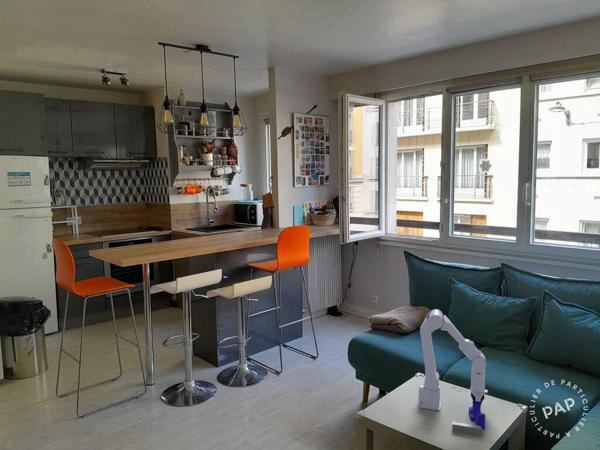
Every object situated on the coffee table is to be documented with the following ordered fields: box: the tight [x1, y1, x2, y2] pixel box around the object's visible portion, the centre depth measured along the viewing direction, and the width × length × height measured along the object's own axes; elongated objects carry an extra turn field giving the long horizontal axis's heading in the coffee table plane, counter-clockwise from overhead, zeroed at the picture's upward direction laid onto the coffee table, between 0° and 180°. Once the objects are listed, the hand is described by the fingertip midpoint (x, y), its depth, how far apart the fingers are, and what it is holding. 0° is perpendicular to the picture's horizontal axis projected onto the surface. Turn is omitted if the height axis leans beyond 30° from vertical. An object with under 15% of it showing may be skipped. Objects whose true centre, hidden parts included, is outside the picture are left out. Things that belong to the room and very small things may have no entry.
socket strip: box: [451, 421, 482, 437], centre depth 187 cm, size 11×2×3 cm, turn 70°
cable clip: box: [468, 400, 486, 430], centre depth 195 cm, size 12×4×6 cm, turn 169°
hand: (477, 409), depth 202 cm, fingers closed
